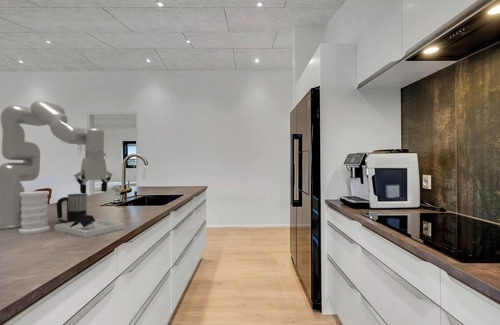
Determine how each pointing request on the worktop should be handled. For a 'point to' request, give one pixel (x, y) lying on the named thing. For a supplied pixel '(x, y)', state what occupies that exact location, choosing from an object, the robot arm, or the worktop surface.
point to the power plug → (85, 221)
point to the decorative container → (34, 212)
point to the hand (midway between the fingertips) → (94, 192)
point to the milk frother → (72, 207)
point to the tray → (79, 230)
